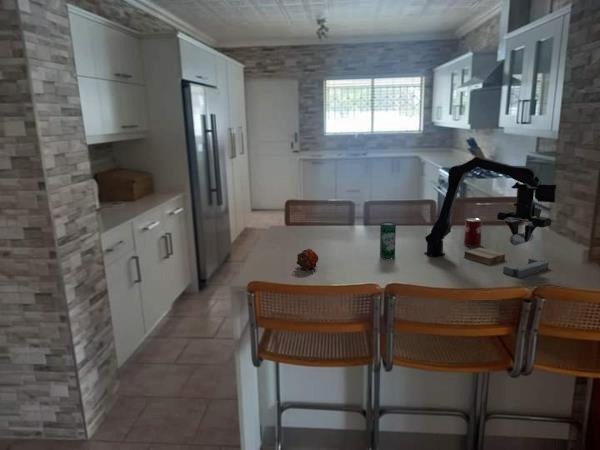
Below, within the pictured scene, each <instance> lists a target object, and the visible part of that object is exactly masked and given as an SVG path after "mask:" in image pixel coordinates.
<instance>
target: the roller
mask: <svg viewBox="0 0 600 450" xmlns="http://www.w3.org/2000/svg"><path fill="white" fill-rule="evenodd" d="M533 239H534V234H533V233H532V234H531V236H530V238H529V240H528V242H529V243H530V242H532V241H533ZM509 242H510V244H512V246H517V245H522V244H525V243H528V242H525V231H523V232H518V234H515V235H513V234H512V235H510V237H509Z"/></svg>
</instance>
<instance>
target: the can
mask: <svg viewBox="0 0 600 450" xmlns="http://www.w3.org/2000/svg"><path fill="white" fill-rule="evenodd" d="M396 224H397V223H396V222H393V221H383V222H380V225H379V227H380V229H379V233H380V234H379V239H380V240H379V243H380V244H379V258H380V257H381V258H380V259H382V258H385V259H384V260H386V259H387V260H388V259H390V260H392V259H391V258H394V259H395V258H396V233H397V231H396V227H397V225H396Z"/></svg>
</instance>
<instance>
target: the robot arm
mask: <svg viewBox="0 0 600 450" xmlns="http://www.w3.org/2000/svg"><path fill="white" fill-rule="evenodd" d="M477 168H478V169H482V170H487V171H489V172H494V173H497V174H500V175H501V174H502V175H504V176H507V177H509V178H510V179H512V180H514V181H516V182H515V184H514V185H512V186H511V189H516V200H515V201H516V202H515V203H513V207H515V211H510V210H503V211H499V212H498V213H497V214H496V220H500V221H505V220H506V221H505V224H507V227H509V230H510V231H511V234H512V235H515V234H519V225H520V223H521V222H524V223H525V222H526V223H528V224H526V225H524V232H525V242H526V243H528V240H529V238H530V236H531V234H533V233H534V231H535V230H536V228H537V227H538V228H546V227H549V226H550V227H551V226H552V219H551V218H550V217H545V216H541V213H542V209H541V208H538V207H536V203H535V202H534V199H535V200H536V201H537V202H538V203H539V202H540V203H551V204H555V203H556V202H557V198H558V188H557V186H558V184H557V183H550V184H548V183H542V181H541V180H540V179H539V177H538V176H537V170H536V169H535V168H534V167H532V166H529V165H528V166H526V165H511V164H507V163H503V162H501V161H495V160H493V159H488V158H484V157H482V156H475V157H473V158H472V159H470V160H469V161H466V162H464V163H463V164H457V165H454V166H452V167H451V168H450V169H449V170H448V175H447V176H448V177H447V183H448V184H447V190H446V193H445V197H444V199H443V203H442V206H441V209H440V212H439V216H438V217H437V220H436V221H435V222H434V224H433V226H432V228H431V230H430V233H429V234H428V235H426V236H425V238H424V239H425V242H426V243H427V244H426V251H425V252H423V254H424V255H426V256H430V257H433V258H437V257H442V256H445V255H446V253H445V252H444V239H445V237H447V236H448V235H449V234H450V233H452V232H451V231H452V227H453V224H454V223H451V222H450V221H451V220H450V219H451V215H452V212H453V208H454V205H455V202H456V199H457V197H458V193H459V190H460V187H461V186H462V184H463V183H464V181H465V179H466V177H467V176H468V174H469V173H470V172H472V171H474V170H476V169H477Z"/></svg>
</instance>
